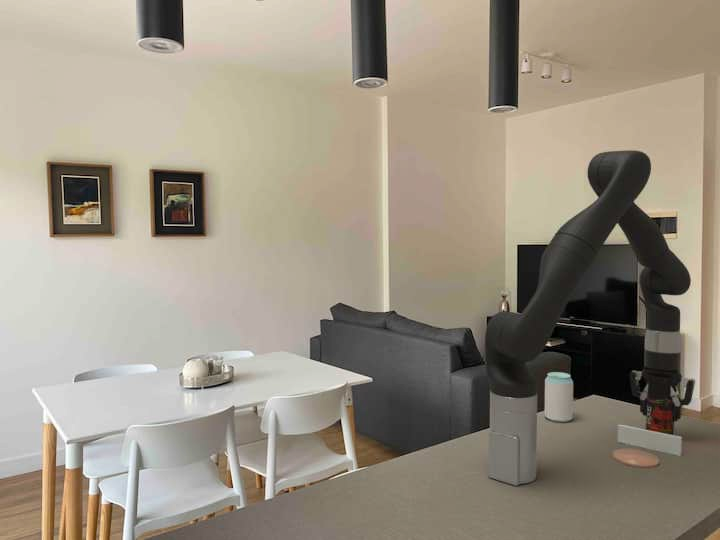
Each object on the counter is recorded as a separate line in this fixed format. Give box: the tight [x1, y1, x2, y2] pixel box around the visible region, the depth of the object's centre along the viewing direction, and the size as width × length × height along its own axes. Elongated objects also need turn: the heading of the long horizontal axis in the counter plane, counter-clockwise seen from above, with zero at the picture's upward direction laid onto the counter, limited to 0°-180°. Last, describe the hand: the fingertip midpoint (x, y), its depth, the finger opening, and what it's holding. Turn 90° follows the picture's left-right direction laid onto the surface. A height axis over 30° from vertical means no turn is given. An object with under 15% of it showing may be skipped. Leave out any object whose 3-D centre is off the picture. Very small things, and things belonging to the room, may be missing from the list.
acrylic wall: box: [617, 424, 683, 457], centre depth 125 cm, size 1×13×4 cm, turn 49°
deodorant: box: [645, 374, 675, 436], centre depth 132 cm, size 6×6×15 cm
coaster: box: [612, 447, 660, 469], centre depth 119 cm, size 9×9×1 cm
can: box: [544, 371, 574, 423], centre depth 146 cm, size 7×7×12 cm
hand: (660, 417), depth 132 cm, fingers closed on deodorant, 6 cm apart
